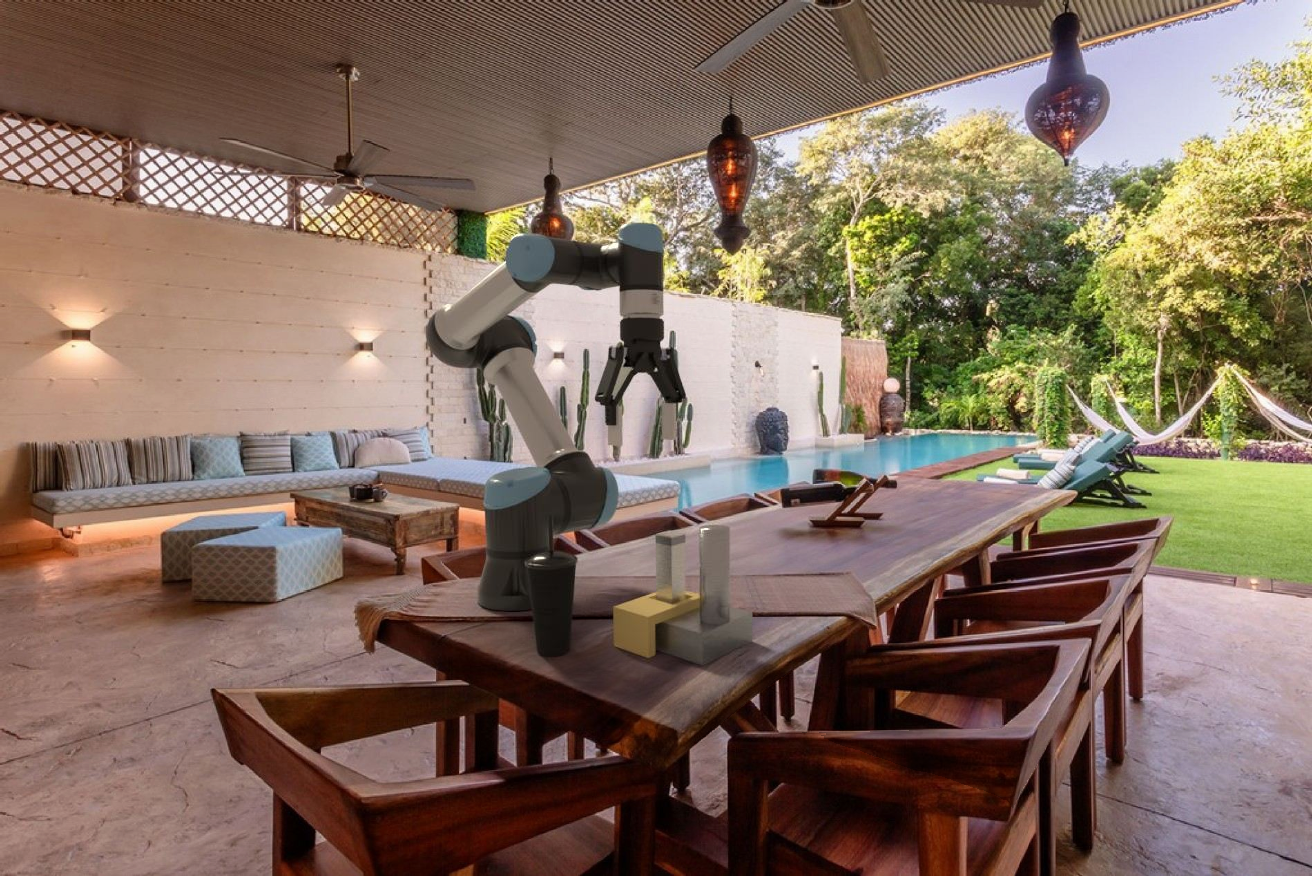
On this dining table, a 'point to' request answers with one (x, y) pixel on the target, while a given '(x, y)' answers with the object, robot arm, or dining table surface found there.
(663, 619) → the bracket
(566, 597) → the drinking cup
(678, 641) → the gray post on base
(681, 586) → the pin
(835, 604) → the dining table surface
